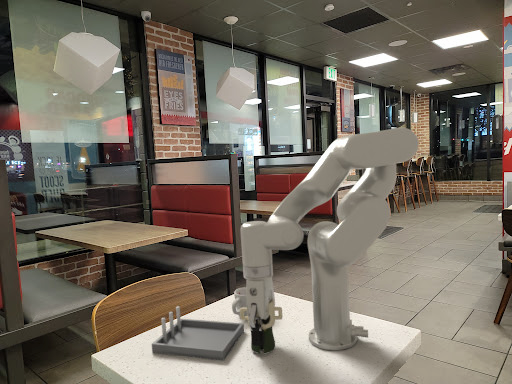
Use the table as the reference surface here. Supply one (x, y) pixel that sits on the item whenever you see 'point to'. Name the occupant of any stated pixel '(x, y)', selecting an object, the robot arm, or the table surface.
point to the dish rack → (197, 338)
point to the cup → (239, 301)
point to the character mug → (265, 327)
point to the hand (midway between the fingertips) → (262, 337)
